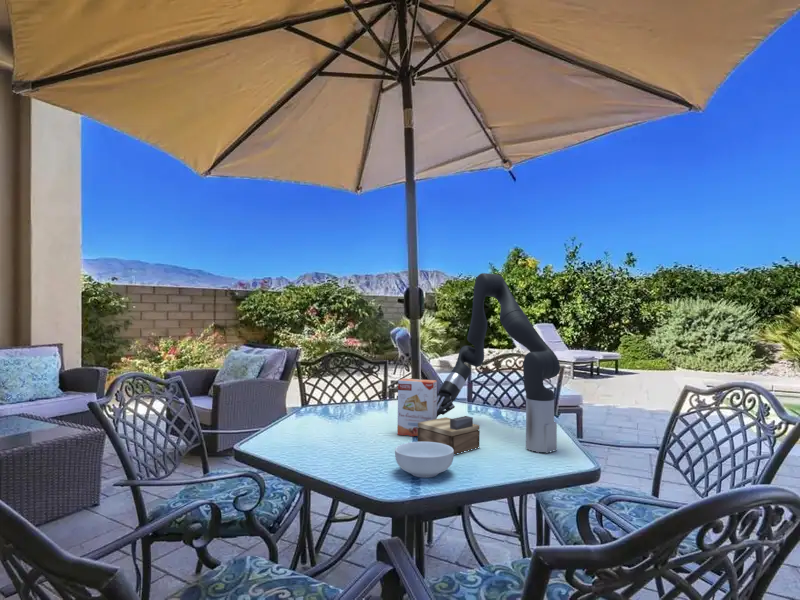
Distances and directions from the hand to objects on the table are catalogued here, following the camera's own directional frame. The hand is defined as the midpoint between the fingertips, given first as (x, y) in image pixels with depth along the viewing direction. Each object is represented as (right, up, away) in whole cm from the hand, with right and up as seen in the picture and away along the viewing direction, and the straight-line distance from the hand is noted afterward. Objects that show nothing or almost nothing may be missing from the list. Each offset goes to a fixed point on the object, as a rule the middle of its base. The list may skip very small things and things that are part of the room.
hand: (430, 420), depth 183 cm
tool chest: (+5, -4, -20) cm, 21 cm away
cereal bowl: (-5, -3, -47) cm, 47 cm away
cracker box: (-5, -4, -5) cm, 8 cm away
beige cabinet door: (+5, +2, -19) cm, 20 cm away
